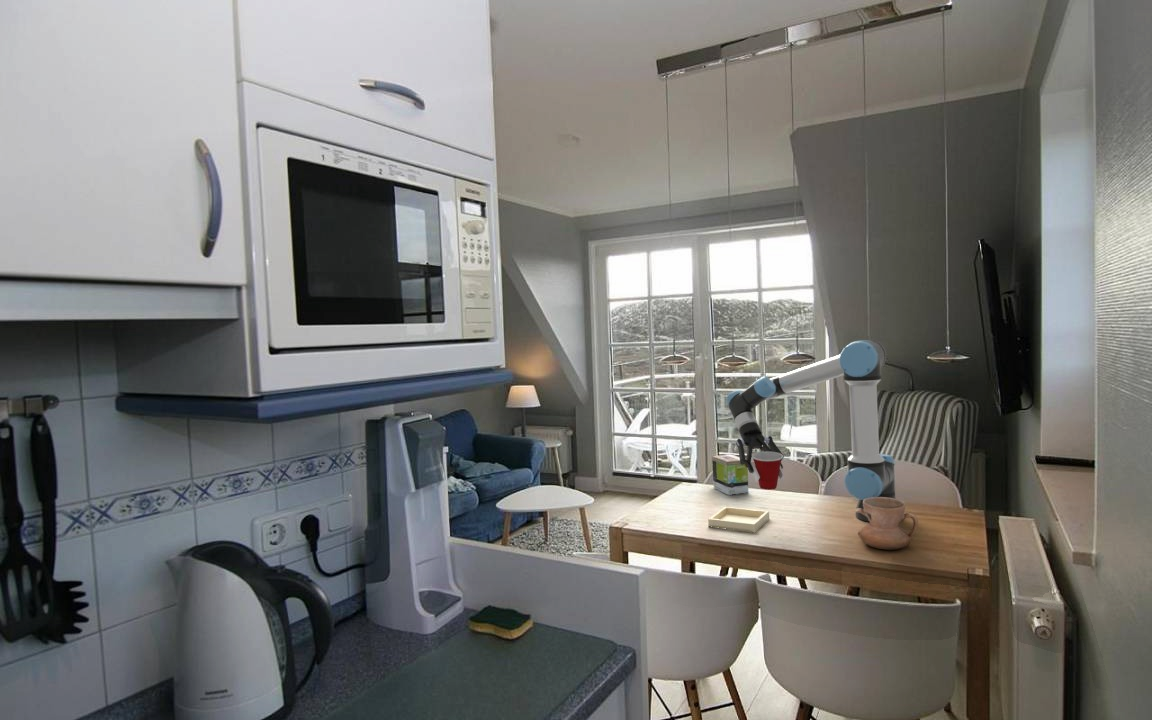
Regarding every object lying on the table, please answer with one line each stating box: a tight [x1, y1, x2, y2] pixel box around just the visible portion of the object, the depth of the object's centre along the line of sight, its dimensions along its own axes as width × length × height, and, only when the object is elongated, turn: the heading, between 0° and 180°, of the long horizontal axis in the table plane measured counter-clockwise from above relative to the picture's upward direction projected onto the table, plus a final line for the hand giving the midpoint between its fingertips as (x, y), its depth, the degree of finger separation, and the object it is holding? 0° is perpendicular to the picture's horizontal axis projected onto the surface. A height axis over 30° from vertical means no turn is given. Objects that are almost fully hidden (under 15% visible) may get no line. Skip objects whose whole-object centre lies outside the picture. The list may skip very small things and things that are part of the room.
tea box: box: [711, 453, 749, 496], centre depth 281 cm, size 15×10×15 cm, turn 13°
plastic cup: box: [751, 451, 784, 491], centre depth 228 cm, size 11×11×12 cm
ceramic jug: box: [854, 497, 919, 551], centre depth 203 cm, size 18×14×14 cm
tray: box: [707, 506, 770, 534], centre depth 235 cm, size 17×17×3 cm
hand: (770, 478), depth 227 cm, fingers closed on plastic cup, 9 cm apart
